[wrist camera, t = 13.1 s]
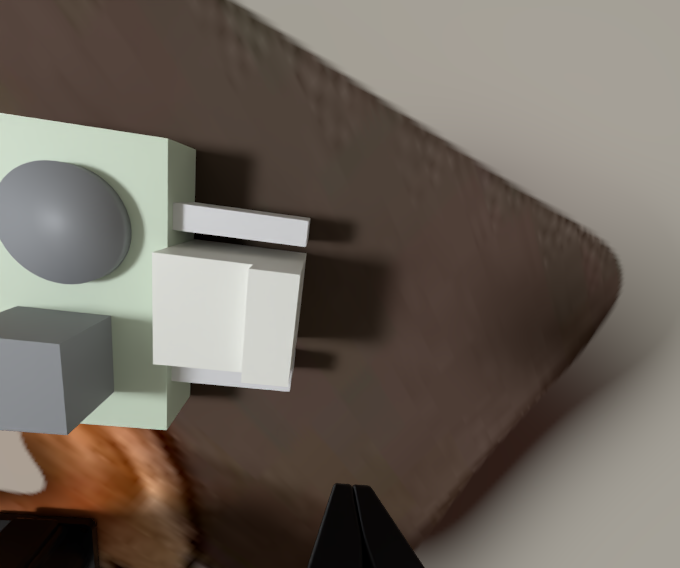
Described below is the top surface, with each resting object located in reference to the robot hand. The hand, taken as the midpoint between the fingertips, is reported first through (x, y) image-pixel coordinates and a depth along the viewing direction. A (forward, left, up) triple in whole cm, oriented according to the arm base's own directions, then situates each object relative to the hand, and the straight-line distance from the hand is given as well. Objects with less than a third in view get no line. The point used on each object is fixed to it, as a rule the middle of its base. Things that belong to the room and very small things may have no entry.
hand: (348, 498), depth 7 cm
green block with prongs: (+1, +9, -12) cm, 15 cm away
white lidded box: (+1, +5, -12) cm, 13 cm away
